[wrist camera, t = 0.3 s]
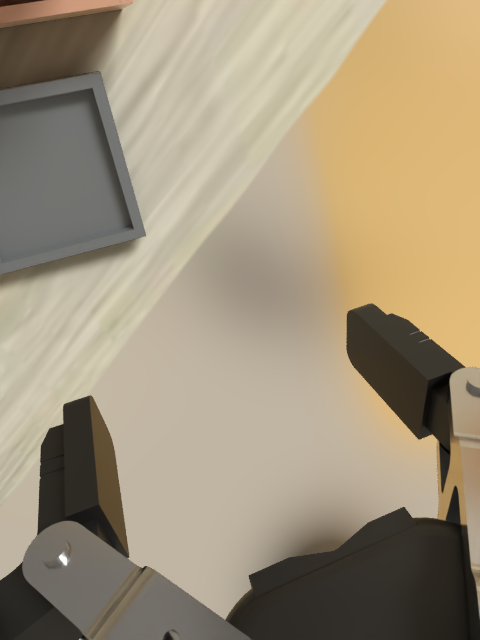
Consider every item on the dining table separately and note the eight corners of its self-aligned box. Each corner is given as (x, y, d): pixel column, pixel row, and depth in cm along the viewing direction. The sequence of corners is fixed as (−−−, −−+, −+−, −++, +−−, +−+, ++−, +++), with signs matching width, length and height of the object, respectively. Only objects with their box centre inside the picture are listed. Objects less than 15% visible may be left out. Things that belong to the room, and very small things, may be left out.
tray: (-84, 104, 29) (-92, 107, 27) (98, 71, 31) (100, 72, 30) (-2, 265, 36) (-5, 275, 34) (142, 228, 38) (146, 235, 36)
